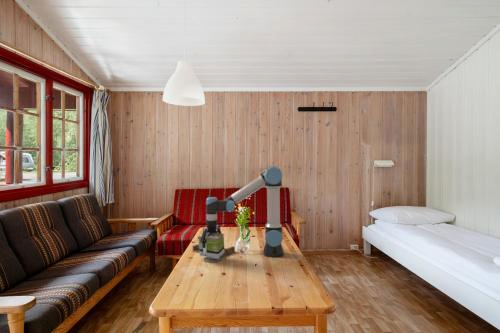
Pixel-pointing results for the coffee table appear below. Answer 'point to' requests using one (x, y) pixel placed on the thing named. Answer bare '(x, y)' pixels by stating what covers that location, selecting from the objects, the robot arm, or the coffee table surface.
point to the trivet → (211, 259)
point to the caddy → (226, 251)
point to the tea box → (213, 245)
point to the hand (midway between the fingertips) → (211, 250)
